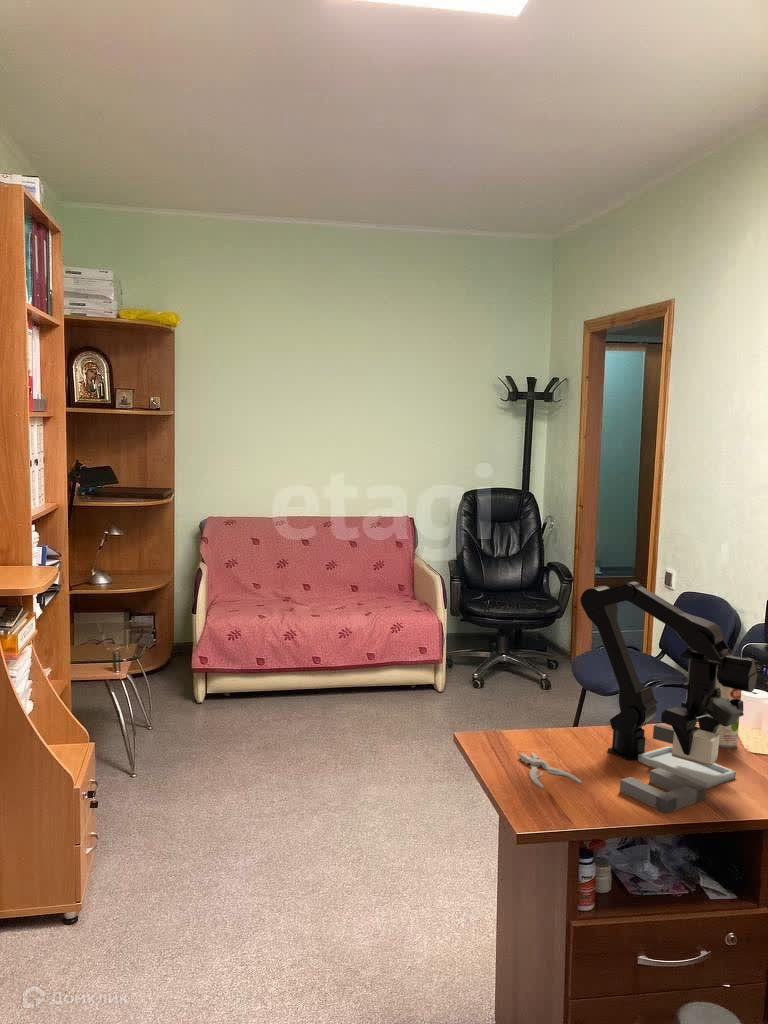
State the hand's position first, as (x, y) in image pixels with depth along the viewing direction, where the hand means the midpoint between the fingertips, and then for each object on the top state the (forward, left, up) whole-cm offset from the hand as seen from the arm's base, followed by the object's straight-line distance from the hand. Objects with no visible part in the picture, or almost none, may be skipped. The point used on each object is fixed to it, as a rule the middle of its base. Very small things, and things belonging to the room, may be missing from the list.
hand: (696, 751), depth 173 cm
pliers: (-17, -29, -5) cm, 34 cm away
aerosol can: (-8, +22, -5) cm, 24 cm away
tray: (-2, 0, -5) cm, 5 cm away
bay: (+4, -16, -5) cm, 17 cm away
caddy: (-3, -1, -1) cm, 3 cm away
